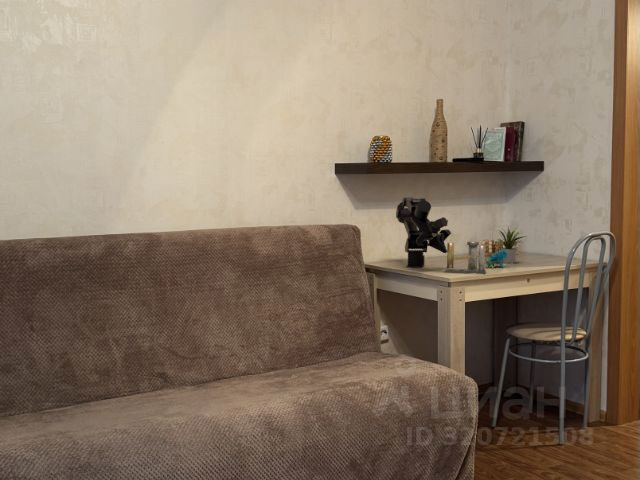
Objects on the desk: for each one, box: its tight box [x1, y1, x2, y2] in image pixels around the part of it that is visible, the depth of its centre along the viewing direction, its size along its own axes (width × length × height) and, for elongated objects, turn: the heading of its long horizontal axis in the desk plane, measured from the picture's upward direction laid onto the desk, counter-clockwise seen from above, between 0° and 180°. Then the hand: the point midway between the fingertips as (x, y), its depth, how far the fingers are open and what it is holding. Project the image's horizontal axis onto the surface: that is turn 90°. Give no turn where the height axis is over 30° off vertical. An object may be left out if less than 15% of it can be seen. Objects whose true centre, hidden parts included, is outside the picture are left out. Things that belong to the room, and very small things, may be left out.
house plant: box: [496, 225, 528, 264], centre depth 348 cm, size 14×14×16 cm
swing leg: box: [446, 242, 470, 269], centre depth 321 cm, size 13×3×10 cm, turn 129°
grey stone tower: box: [466, 241, 486, 271], centre depth 320 cm, size 5×18×11 cm, turn 8°
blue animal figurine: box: [485, 249, 508, 269], centre depth 331 cm, size 11×6×10 cm
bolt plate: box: [443, 267, 487, 275], centre depth 315 cm, size 16×6×1 cm, turn 76°
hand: (446, 252), depth 318 cm, fingers closed
